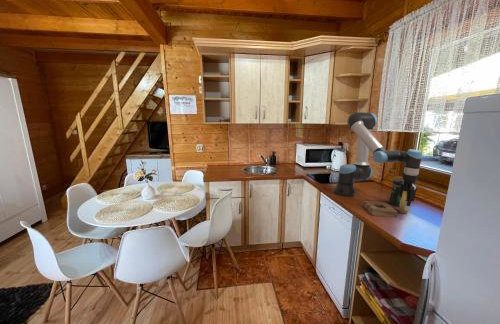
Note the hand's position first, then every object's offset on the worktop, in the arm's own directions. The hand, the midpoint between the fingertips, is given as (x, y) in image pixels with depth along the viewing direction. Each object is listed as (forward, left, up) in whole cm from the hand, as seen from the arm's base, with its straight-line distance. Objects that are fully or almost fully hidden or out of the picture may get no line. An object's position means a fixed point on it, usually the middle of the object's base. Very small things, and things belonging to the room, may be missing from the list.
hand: (404, 208), depth 136 cm
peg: (0, 0, -3) cm, 3 cm away
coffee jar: (-14, +3, -3) cm, 15 cm away
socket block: (+2, -16, -3) cm, 16 cm away
